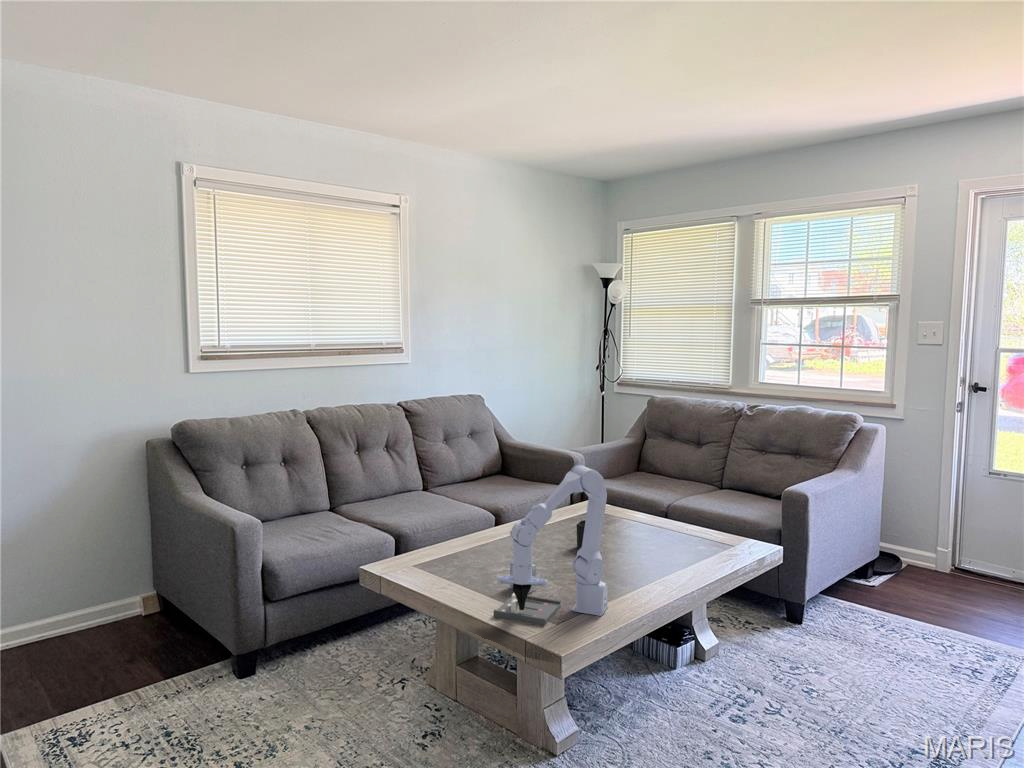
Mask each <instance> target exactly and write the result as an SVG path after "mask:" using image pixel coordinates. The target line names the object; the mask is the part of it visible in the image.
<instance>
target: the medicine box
mask: <svg viewBox="0 0 1024 768" xmlns="http://www.w3.org/2000/svg"><path fill="white" fill-rule="evenodd" d="M509 575H513V561H512V562H510V563H509ZM532 576H533V577H537V565H536V564H533V563H532ZM509 588H510V589H512V588H513V584H509ZM536 590H537V586H531V589H530V591H529V593H528V594H531V593H533V592H535V591H536Z"/></svg>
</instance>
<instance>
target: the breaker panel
mask: <svg viewBox="0 0 1024 768" xmlns="http://www.w3.org/2000/svg"><path fill="white" fill-rule="evenodd" d="M513 593H514V592H512V593H511V596H510V597H509V598H508V599H507V600H506V601H505V602H504V603H503V604H502V605H501V606H499V608H496V609H493V618H498V619H502V620H508V621H514V622H519V623H525V624H531V625H536V626H543V627H545V626H546V625H547V624H548V623H549V621H550V620H551V619H552V618H553V617H554V615H555V614H556V613H557V612H558V611H559V610H560V609H561V607H562V606H561V604H562V601H561V600H559V599H558V600H557V599H552V598H548V597H541V596H534V595H529V594H528V595H527V598H526V602H525V608H524V610H519V612H518V613H512V612H511V602H512V594H513Z"/></svg>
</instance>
